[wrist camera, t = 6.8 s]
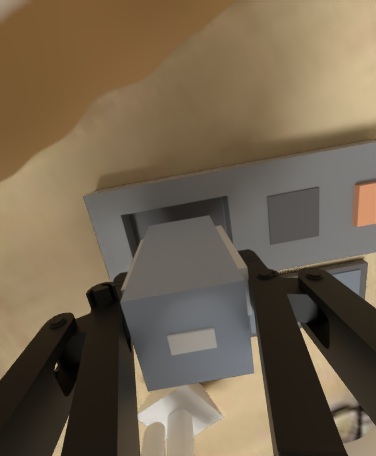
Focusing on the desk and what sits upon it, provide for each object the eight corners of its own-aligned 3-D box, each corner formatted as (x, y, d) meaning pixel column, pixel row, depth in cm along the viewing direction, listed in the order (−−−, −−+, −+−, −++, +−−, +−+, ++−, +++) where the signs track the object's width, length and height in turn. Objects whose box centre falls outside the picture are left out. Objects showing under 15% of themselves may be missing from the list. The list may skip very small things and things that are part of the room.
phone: (243, 333, 27) (245, 338, 26) (236, 282, 25) (239, 287, 24) (358, 311, 27) (364, 316, 26) (361, 259, 25) (368, 263, 24)
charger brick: (161, 279, 18) (148, 394, 9) (148, 225, 17) (119, 303, 8) (217, 269, 18) (254, 375, 9) (209, 215, 17) (245, 281, 8)
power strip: (123, 283, 24) (115, 304, 21) (95, 190, 21) (80, 197, 18) (400, 231, 24) (437, 244, 21) (413, 131, 21) (459, 127, 18)
